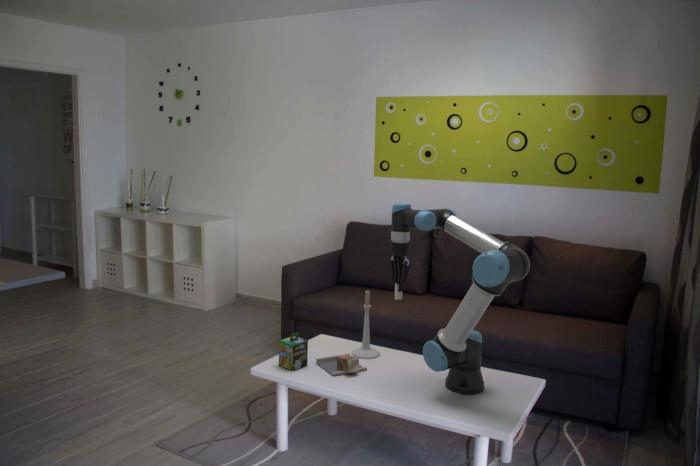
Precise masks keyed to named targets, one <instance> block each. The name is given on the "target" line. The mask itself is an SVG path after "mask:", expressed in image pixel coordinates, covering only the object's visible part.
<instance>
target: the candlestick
mask: <svg viewBox="0 0 700 466" xmlns="http://www.w3.org/2000/svg"><path fill="white" fill-rule="evenodd" d="M364 292H365V294H364V295H365V297H364V305H363V307H364V308H363V309H364V319H363V321H364V322H363V331H362V343H361V344H362V345H361V347H356V348H355V349H353V350H352V351H351V356H352V357H355V358H358V359H362V360H373V359H376V358H378V357H380V356H381V353H380V351H378V350H377V349H376V348H373V347H371V343H370V342H371V341H370V339H371V337H370V332H371V331H370V310H371V307H372V305H371V304H370V299H371V298H370V297H371V296H370V294H371V292H370V290H365V291H364Z"/></svg>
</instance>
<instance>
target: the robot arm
mask: <svg viewBox="0 0 700 466" xmlns="http://www.w3.org/2000/svg"><path fill="white" fill-rule="evenodd" d="M391 208H392V209H391V232H390V241H391V242H390V251H391V252H392V255H391V256H388V260H389V267H390V276H391V281H393V282H394V300H396V301H397V300H403V292H404V284H407V282H408V277H409V273H410V266H411V264H412V261H411V260H409V259H408V254H407V253H409V252H410V247H411V245H410V244H411V243H410V241H411V240H410V238H411V229H413V230H420V231H423V232H424V231H427V232H428V231H432V230H433V229H440V230H442V231H443V232H445V233H447V234H449V235H450V236H452V237H453V238H454V239H457V240H458V241H460V242H461V243H464V244H465V245H467V246H468V247H470V248H472V249H473V250H475V251H476V252H479V253H480V254H479V255H478V256H477V257H476V258H475V259H474V261H473V264H472V268H471V270H472V276H471V280H472V283H471V286H470V287H469V289H468V291H467V293H466V294H465V296H464V297H463V299H462V301H460V304H459V306H458V307H457V308H456V310H455V312H454V314H453V315H452V316H451V318H450V320H449V322H448V324H447V325H446V327H444V328H441V329H439V330H438V331H437V333H436V335H435V337H434V338H433V339H432V340H431V339H430V340H428V341H427V342H425V343H424V345H423V346H422V356H423V360H424V362H425V364H426V366H428V368H429V369H430V370H432V371H434V372H445V371H447V370H448V373H447V376H446V378H445V381H444V382H445V383H444V384H445V388H446V389H448V390H449V391H451V392H455V393H458V394H461V395H477V394H480V393H482V392H484V389H485V381H484V377H483V374H482V371H481V369H482V351H483V348H482V347H483V335H482V333H480V332H479V331H477V330H475V327H476V326H477V324H478V323H479V321H480V319H481V318H482V316H483V315H484V314H485V312H486V310H487V308H488V307H489V305H490V304H491V303H492V301H493V300H494V298H495V297H499V296H501V295H502V294H503V292H504V291H505V289H506V288H507V286H508V285H509V284H510V283H514V282H516V283H517V282H519V281H521V280H523V279H524V278H526V277H527V275H528V273H529V271H530V269H531V262H530V261H531V260H530V257H529V256H528V254H527V253H526V252H525V251H524V250H523V249H521V248H520V247H519V246H517V245H515V244H513V243H511V242H509V241H505V242H504V241H502V240H500V239H498V238H496V237H495V236H493V235H491V234H489V233H487V232H485V230H482V229H480V228H478V227H477V226H475V225H473V224H472V223H469V222H467V221H466V220H464V219H462V218H460V217H458V216H457V213H456V212H455V210H453V209H452V208H451V209H450V208H437V209H436V208H435V209H413V208H412V204H411V203H408V202H394V203H393V205H392V207H391Z"/></svg>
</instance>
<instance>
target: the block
mask: <svg viewBox="0 0 700 466" xmlns="http://www.w3.org/2000/svg"><path fill="white" fill-rule="evenodd" d="M341 355H342V354H341ZM359 359H360V358H356V357H354V356H353V355H350V356H349V355H342V356H337V368H338V369H341V370H343V371H346V372H348V373H350V372H355V371H359V365H360V363H359V362H360V361H359ZM355 373H356V372H355ZM350 374H351V373H350Z"/></svg>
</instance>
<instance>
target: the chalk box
mask: <svg viewBox="0 0 700 466" xmlns="http://www.w3.org/2000/svg"><path fill="white" fill-rule="evenodd" d="M299 334H300V333H299V332H298V331H297V332H295V333H292V334H291V335H290V336H288V337H286V338H282V339H281V340H280V339H279V341H278V366H279V367H281V368H284V369H287V370H290V371H291V372H294V371H296V370H299V369H300V370H301V369H303V368H305V367H308V357H309V356H308V353H309V350H308V349H309V347H308V346H309V344H308V343H309V340H308V339H305V338H302V337H299Z"/></svg>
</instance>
